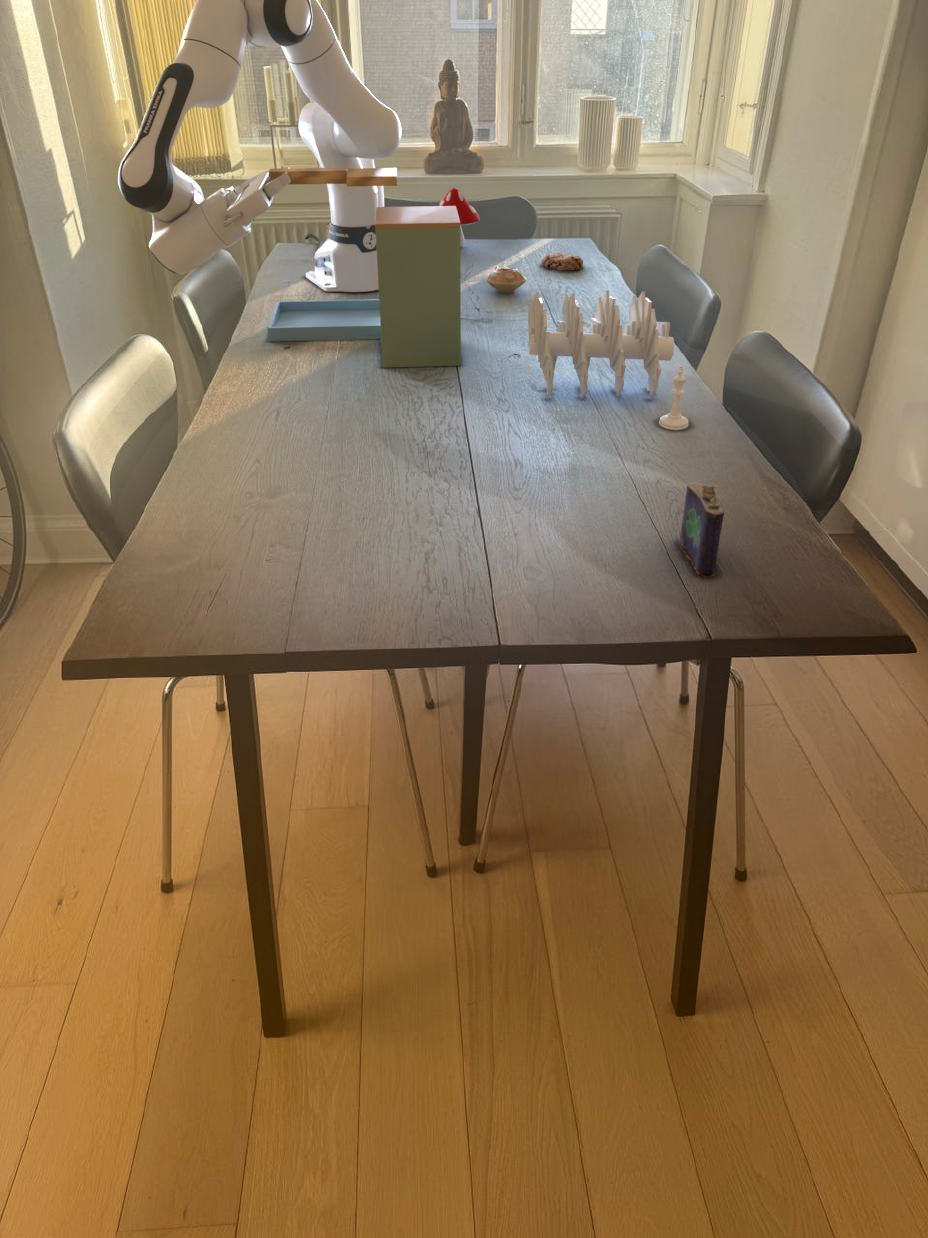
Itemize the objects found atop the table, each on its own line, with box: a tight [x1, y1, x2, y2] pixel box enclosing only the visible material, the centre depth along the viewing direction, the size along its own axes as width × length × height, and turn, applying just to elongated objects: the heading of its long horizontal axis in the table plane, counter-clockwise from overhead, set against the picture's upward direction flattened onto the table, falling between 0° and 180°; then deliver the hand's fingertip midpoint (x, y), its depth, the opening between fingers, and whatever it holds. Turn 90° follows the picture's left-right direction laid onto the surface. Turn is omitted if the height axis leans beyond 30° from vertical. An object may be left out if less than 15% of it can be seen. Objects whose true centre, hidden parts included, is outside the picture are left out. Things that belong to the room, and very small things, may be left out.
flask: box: [678, 481, 725, 578], centre depth 120 cm, size 9×3×11 cm, turn 8°
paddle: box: [268, 167, 398, 187], centre depth 173 cm, size 23×8×2 cm, turn 94°
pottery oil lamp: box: [485, 265, 527, 294], centre depth 223 cm, size 9×12×7 cm
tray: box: [267, 298, 381, 342], centre depth 202 cm, size 32×19×3 cm, turn 94°
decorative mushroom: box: [437, 187, 481, 248], centre depth 253 cm, size 14×14×15 cm
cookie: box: [540, 252, 584, 271], centre depth 240 cm, size 10×11×3 cm
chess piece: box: [658, 365, 690, 431], centre depth 156 cm, size 5×5×10 cm
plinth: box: [375, 205, 462, 369], centre depth 180 cm, size 15×14×26 cm
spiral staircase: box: [527, 290, 675, 399], centre depth 166 cm, size 18×18×25 cm
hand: (290, 173), depth 172 cm, fingers closed on paddle, 3 cm apart
